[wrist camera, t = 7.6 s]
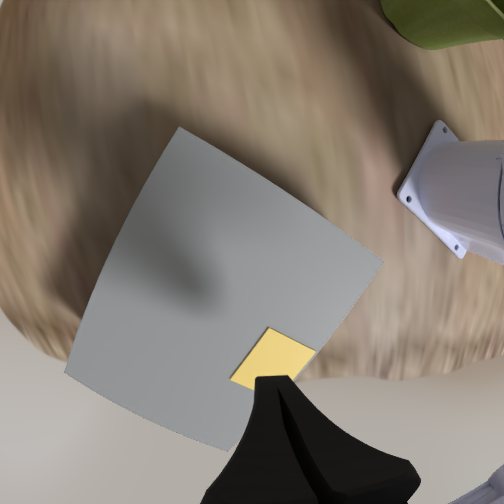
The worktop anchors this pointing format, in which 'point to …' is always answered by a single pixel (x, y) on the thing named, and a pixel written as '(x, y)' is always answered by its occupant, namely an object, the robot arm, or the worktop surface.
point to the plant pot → (446, 21)
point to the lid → (213, 294)
